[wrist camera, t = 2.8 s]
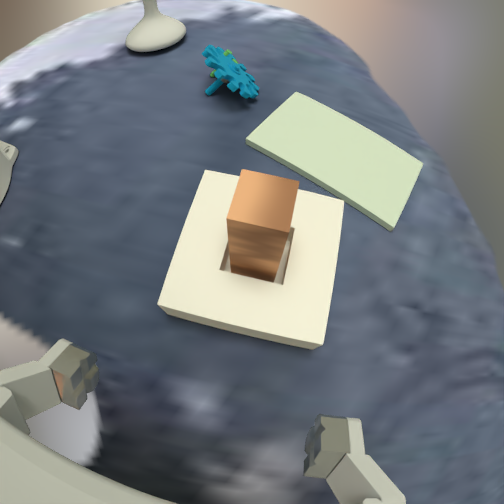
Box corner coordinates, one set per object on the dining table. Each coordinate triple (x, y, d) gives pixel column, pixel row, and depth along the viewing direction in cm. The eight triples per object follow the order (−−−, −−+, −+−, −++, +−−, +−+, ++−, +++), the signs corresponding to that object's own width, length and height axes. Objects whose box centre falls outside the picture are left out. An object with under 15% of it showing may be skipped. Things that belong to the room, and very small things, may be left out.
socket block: (167, 314, 30) (157, 304, 26) (208, 191, 35) (205, 169, 31) (312, 349, 29) (323, 344, 25) (334, 220, 34) (344, 200, 30)
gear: (266, 105, 39) (208, 60, 32) (234, 130, 42) (176, 91, 36) (257, 68, 44) (210, 31, 38) (231, 91, 48) (183, 57, 41)
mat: (245, 143, 38) (245, 138, 37) (295, 96, 42) (296, 91, 41) (390, 231, 34) (394, 227, 33) (420, 168, 38) (423, 163, 37)
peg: (231, 275, 30) (226, 218, 20) (241, 237, 32) (242, 169, 22) (272, 285, 30) (289, 232, 20) (281, 246, 32) (299, 181, 21)
